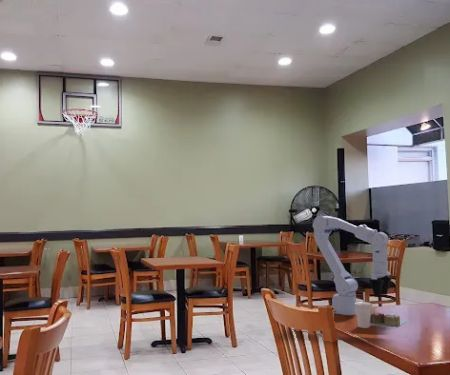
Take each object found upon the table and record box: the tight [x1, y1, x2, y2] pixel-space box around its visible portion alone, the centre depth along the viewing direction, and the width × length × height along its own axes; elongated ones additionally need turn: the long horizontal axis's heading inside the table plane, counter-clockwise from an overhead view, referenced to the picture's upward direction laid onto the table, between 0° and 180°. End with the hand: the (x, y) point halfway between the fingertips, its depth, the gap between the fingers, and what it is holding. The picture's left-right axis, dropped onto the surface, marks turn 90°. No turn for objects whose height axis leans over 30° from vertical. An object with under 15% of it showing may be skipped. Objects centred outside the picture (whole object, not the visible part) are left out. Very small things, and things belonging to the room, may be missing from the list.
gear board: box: [370, 312, 410, 329], centre depth 186 cm, size 12×18×5 cm, turn 142°
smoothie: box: [354, 291, 373, 329], centre depth 178 cm, size 6×6×14 cm
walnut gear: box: [370, 312, 385, 324], centre depth 185 cm, size 5×5×3 cm
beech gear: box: [384, 314, 401, 326], centre depth 182 cm, size 5×5×3 cm
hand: (380, 295), depth 195 cm, fingers open, 7 cm apart
